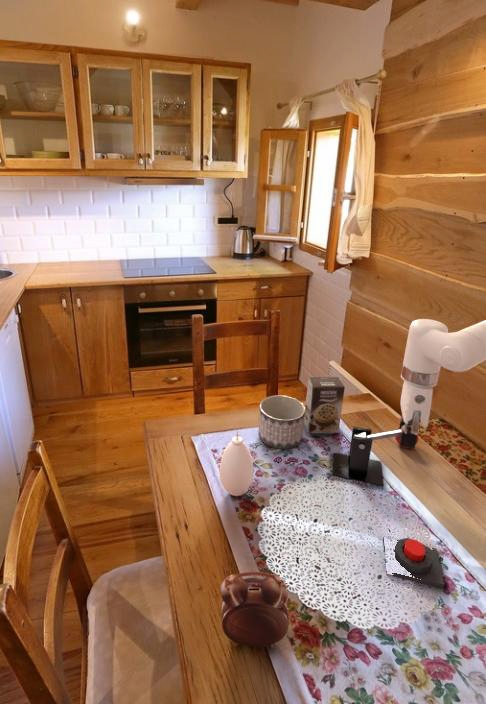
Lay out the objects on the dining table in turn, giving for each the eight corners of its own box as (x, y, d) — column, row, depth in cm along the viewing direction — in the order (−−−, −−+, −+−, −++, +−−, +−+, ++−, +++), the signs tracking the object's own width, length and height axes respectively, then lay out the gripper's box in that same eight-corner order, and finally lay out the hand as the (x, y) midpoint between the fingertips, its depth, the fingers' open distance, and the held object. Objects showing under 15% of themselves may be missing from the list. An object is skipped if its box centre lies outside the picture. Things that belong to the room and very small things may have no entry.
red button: (422, 548, 81) (423, 541, 80) (425, 564, 77) (426, 557, 77) (402, 543, 82) (404, 537, 81) (404, 559, 78) (406, 552, 78)
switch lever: (416, 431, 98) (412, 420, 97) (418, 439, 95) (414, 428, 94) (357, 441, 103) (353, 431, 103) (358, 449, 100) (353, 439, 100)
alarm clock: (283, 623, 70) (289, 560, 64) (287, 654, 65) (293, 589, 60) (220, 620, 70) (221, 557, 65) (219, 651, 66) (220, 586, 60)
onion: (420, 451, 112) (425, 427, 109) (404, 456, 110) (409, 432, 107) (404, 439, 117) (409, 415, 114) (388, 443, 115) (393, 420, 112)
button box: (435, 552, 83) (438, 541, 82) (443, 589, 75) (446, 578, 74) (382, 540, 85) (385, 529, 84) (386, 574, 78) (388, 563, 77)
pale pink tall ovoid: (258, 489, 99) (261, 426, 92) (241, 510, 93) (243, 444, 86) (231, 476, 103) (232, 415, 96) (213, 495, 97) (213, 432, 90)
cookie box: (308, 435, 118) (313, 387, 113) (303, 422, 124) (307, 376, 119) (339, 435, 119) (345, 387, 113) (332, 422, 125) (338, 375, 119)
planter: (292, 458, 109) (295, 425, 106) (250, 442, 115) (251, 411, 112) (308, 433, 119) (311, 403, 116) (269, 420, 126) (271, 391, 122)
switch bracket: (380, 464, 107) (386, 427, 103) (382, 489, 99) (390, 449, 95) (333, 456, 110) (337, 419, 106) (331, 478, 102) (336, 439, 98)
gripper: (445, 394, 83) (428, 467, 89) (431, 360, 98) (417, 424, 104) (406, 389, 85) (392, 460, 91) (397, 356, 100) (386, 419, 106)
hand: (406, 440), depth 98 cm, fingers closed on switch lever, 3 cm apart
